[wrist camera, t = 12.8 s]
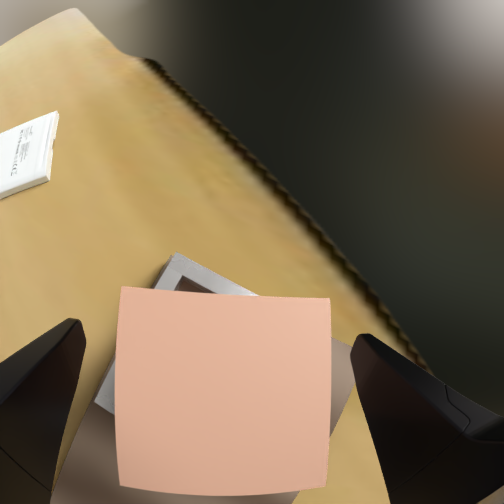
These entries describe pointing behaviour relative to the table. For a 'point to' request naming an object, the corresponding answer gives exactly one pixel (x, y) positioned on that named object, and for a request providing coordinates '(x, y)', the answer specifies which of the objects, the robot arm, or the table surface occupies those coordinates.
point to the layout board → (103, 416)
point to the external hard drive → (27, 154)
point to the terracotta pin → (222, 392)
